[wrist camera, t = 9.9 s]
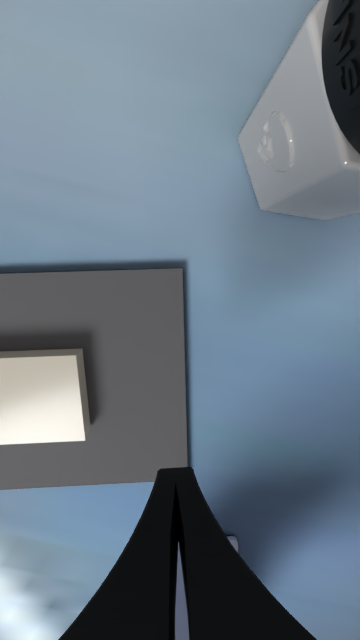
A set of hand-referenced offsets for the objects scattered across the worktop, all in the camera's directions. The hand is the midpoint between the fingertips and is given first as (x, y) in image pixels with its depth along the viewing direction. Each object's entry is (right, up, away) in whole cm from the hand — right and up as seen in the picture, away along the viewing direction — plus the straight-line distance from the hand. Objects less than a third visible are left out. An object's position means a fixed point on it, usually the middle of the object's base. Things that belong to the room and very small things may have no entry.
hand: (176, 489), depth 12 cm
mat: (-7, +2, +9) cm, 12 cm away
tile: (-6, +2, +8) cm, 10 cm away
